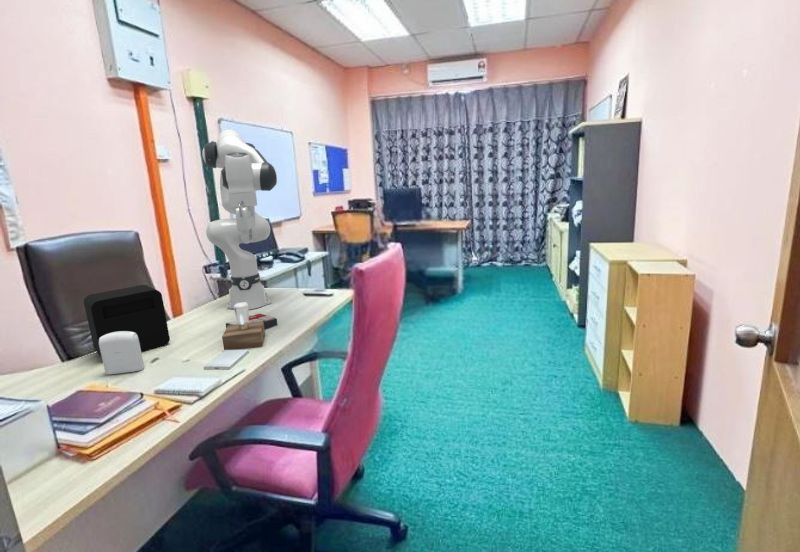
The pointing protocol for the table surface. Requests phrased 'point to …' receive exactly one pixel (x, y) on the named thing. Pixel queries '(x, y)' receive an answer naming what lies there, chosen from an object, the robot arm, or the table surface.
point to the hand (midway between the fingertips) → (248, 241)
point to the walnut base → (244, 336)
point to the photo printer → (121, 352)
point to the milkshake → (242, 315)
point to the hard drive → (226, 360)
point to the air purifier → (128, 315)
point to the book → (268, 320)
